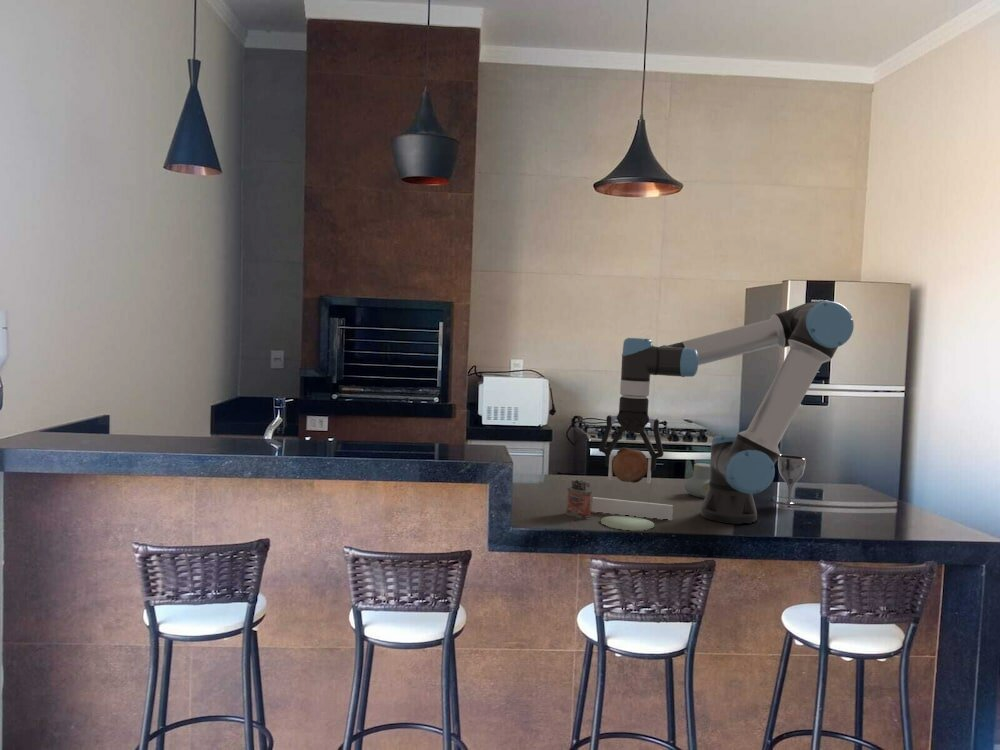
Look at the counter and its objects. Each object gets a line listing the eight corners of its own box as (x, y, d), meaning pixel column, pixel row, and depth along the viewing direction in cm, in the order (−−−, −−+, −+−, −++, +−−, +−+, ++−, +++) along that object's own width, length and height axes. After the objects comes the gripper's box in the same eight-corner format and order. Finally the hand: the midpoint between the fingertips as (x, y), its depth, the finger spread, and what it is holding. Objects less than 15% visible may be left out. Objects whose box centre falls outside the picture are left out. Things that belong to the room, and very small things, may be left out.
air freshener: (708, 492, 256) (709, 462, 255) (724, 498, 248) (725, 466, 247) (679, 493, 252) (681, 462, 251) (694, 499, 244) (696, 467, 243)
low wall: (672, 519, 217) (672, 505, 216) (671, 520, 215) (672, 506, 215) (592, 511, 223) (593, 497, 222) (591, 512, 221) (592, 497, 221)
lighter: (563, 513, 218) (565, 477, 217) (572, 512, 220) (573, 476, 220) (584, 519, 212) (586, 483, 211) (593, 518, 214) (594, 482, 214)
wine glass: (803, 509, 237) (806, 459, 236) (775, 506, 239) (778, 457, 238) (802, 503, 244) (805, 455, 243) (775, 500, 247) (778, 453, 246)
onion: (614, 492, 209) (599, 457, 209) (636, 479, 215) (621, 445, 215) (639, 485, 201) (623, 449, 202) (661, 472, 207) (646, 437, 208)
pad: (656, 520, 214) (656, 519, 214) (651, 533, 201) (651, 531, 201) (604, 515, 218) (605, 513, 218) (597, 527, 205) (597, 525, 205)
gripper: (677, 398, 208) (672, 482, 209) (594, 392, 214) (590, 474, 215) (676, 400, 201) (670, 487, 202) (590, 394, 207) (585, 479, 208)
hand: (629, 480), depth 209 cm, fingers closed on onion, 9 cm apart
